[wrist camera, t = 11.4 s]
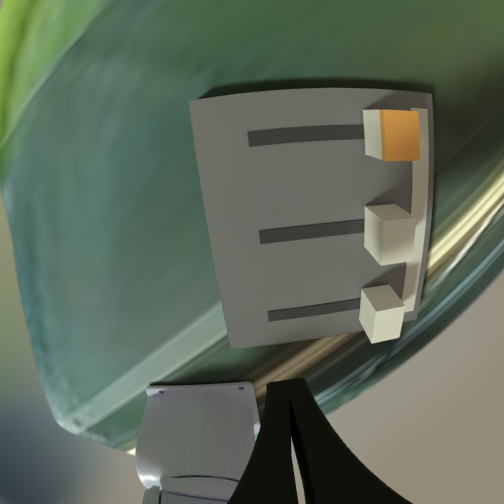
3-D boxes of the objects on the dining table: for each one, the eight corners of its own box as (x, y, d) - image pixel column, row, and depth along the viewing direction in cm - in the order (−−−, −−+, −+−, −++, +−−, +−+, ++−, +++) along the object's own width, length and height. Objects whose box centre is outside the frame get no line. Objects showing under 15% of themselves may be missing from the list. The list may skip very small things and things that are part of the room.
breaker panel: (231, 335, 22) (230, 377, 18) (193, 102, 16) (177, 97, 12) (408, 308, 22) (432, 341, 18) (419, 94, 15) (459, 93, 12)
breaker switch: (365, 154, 16) (385, 161, 13) (362, 110, 15) (383, 109, 12) (396, 153, 16) (419, 160, 13) (394, 110, 14) (418, 111, 12)
